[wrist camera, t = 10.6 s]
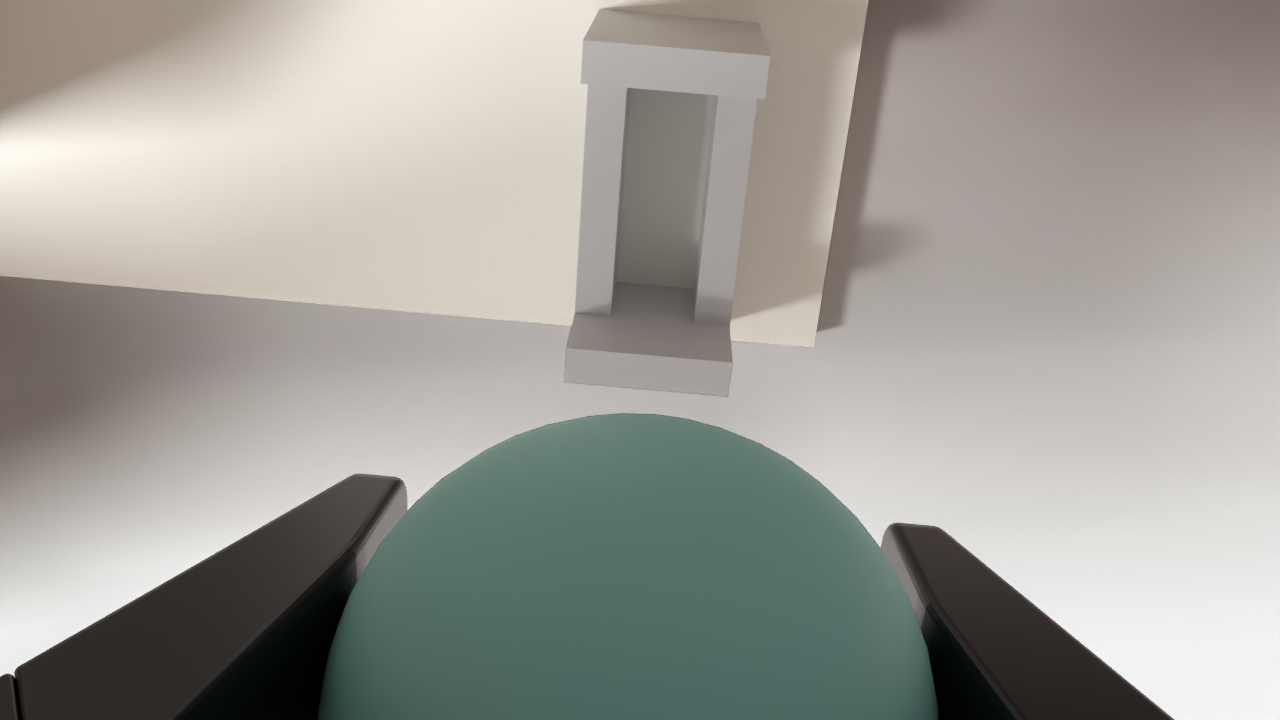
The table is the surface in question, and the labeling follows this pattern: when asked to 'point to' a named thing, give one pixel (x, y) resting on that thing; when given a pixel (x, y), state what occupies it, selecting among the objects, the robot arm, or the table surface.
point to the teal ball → (628, 590)
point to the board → (444, 162)
